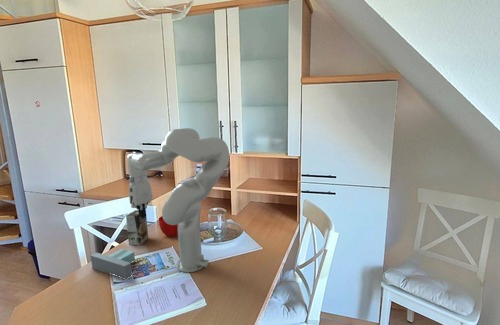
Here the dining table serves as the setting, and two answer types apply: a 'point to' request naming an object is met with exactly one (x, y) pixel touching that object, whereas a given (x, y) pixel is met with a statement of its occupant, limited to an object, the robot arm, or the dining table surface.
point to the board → (111, 265)
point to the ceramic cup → (168, 228)
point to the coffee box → (136, 228)
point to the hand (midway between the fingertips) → (142, 216)
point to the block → (124, 255)
